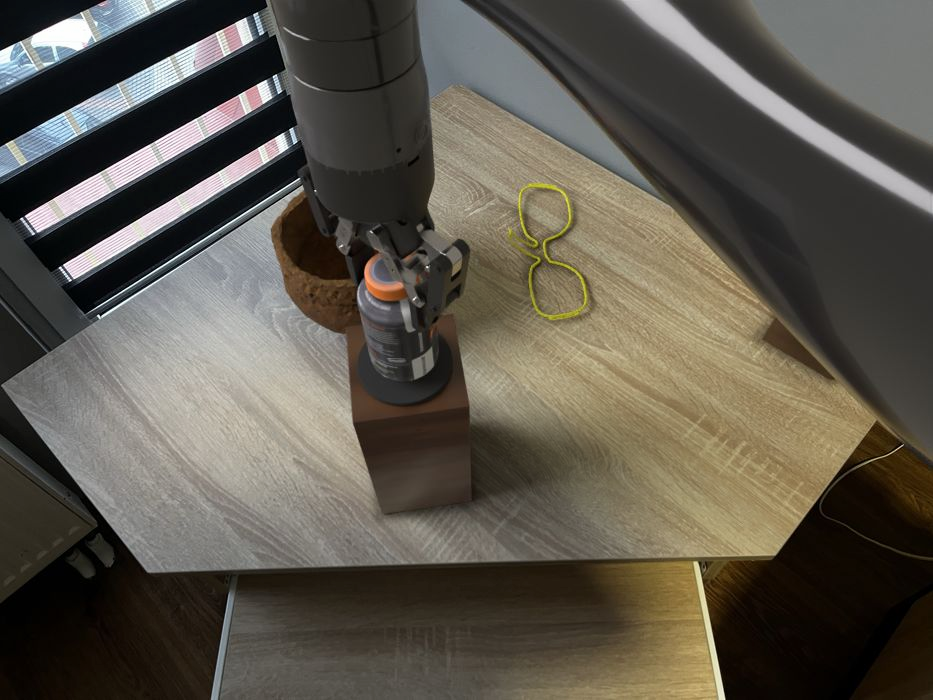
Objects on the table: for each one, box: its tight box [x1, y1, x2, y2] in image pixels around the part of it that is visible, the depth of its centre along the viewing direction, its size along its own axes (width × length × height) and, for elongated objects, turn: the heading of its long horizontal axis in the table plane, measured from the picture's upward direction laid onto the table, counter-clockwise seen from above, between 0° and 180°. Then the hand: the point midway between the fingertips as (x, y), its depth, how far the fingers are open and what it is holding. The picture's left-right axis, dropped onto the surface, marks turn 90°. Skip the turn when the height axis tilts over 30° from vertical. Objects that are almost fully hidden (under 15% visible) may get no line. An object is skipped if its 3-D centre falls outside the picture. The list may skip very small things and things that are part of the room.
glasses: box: [507, 182, 588, 321], centre depth 96 cm, size 25×10×5 cm, turn 3°
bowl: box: [270, 189, 424, 335], centre depth 87 cm, size 19×19×15 cm
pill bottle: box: [357, 253, 439, 381], centre depth 55 cm, size 6×6×11 cm
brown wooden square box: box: [762, 317, 833, 380], centre depth 88 cm, size 9×9×4 cm
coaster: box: [357, 332, 453, 406], centre depth 61 cm, size 8×8×1 cm
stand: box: [345, 312, 473, 515], centre depth 71 cm, size 10×10×22 cm
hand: (395, 300), depth 54 cm, fingers closed on pill bottle, 6 cm apart
